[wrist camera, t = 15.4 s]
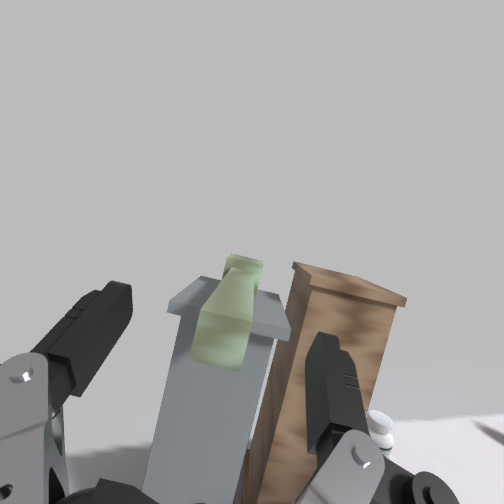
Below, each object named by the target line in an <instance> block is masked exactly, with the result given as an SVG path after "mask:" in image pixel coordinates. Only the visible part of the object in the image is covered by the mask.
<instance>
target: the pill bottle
mask: <svg viewBox="0 0 504 504" xmlns="http://www.w3.org/2000/svg"><path fill="white" fill-rule="evenodd" d="M366 420H367V425H368V430H369V434H370V436H371V438H372V439H373V440H374V441H375V442H376V444H377V445H378V446H379V448H380V450H381V452H382V454H383V455H384V456H385V457H386V458H388V459H389V456H390V453H391V449H392V446H393V437H392V435H391V431H392V427H393V422H392V420H391V419H390V418H389V417H388V416H387V415H385V414H383V413H381V412H379V411H376V410H370V411H369V412H368V415H367V417H366Z"/></svg>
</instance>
